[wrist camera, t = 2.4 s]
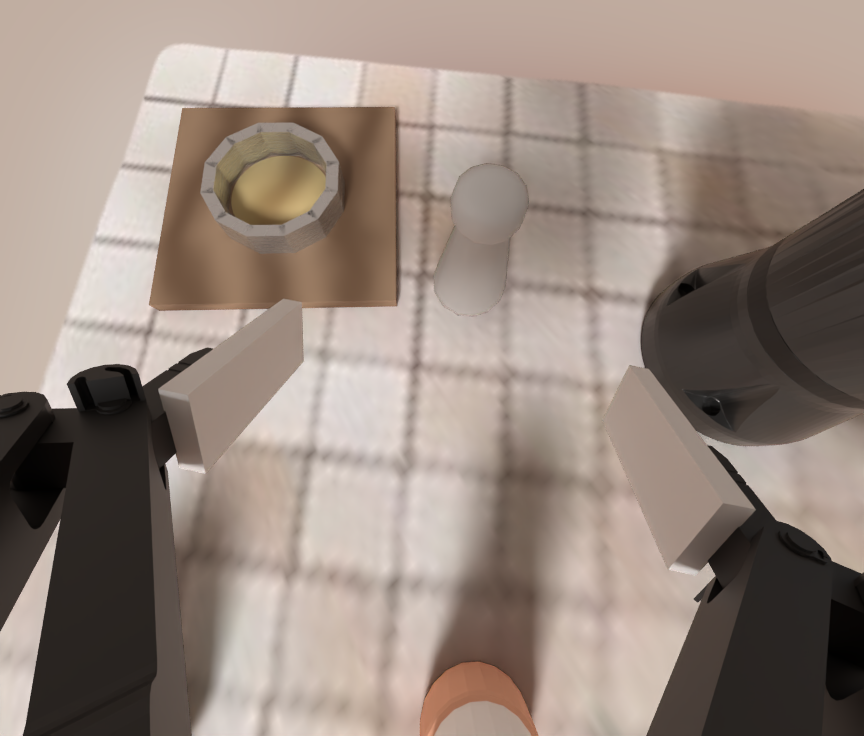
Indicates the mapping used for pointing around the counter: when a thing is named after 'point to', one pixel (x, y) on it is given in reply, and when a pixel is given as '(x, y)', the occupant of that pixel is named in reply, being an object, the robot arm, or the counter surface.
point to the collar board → (280, 210)
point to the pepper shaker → (475, 704)
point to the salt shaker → (480, 238)
